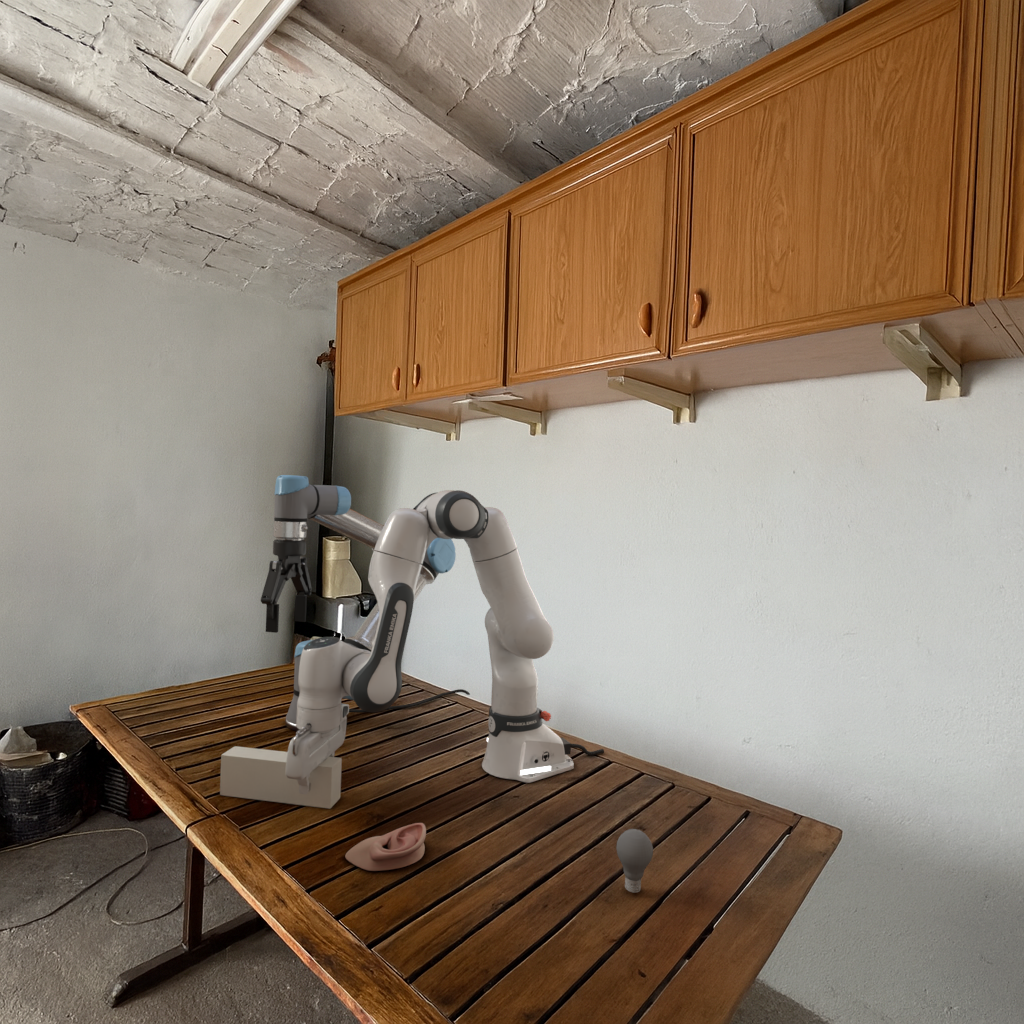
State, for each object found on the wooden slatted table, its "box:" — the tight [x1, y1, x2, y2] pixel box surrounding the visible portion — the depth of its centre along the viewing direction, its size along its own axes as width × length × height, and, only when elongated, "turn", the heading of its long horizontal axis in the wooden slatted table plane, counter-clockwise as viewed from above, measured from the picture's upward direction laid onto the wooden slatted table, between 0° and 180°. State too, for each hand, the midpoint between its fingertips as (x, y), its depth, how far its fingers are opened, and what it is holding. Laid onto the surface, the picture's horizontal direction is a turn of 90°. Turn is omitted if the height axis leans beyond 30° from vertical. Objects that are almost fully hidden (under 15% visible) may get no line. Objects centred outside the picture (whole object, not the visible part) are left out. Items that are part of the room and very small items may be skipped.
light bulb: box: [615, 828, 654, 894], centre depth 106 cm, size 6×6×10 cm
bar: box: [219, 745, 343, 809], centre depth 133 cm, size 25×5×8 cm, turn 81°
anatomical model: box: [344, 822, 427, 872], centre depth 113 cm, size 13×4×12 cm
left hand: (286, 626), depth 153 cm, fingers open, 13 cm apart
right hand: (315, 782), depth 132 cm, fingers open, 8 cm apart
